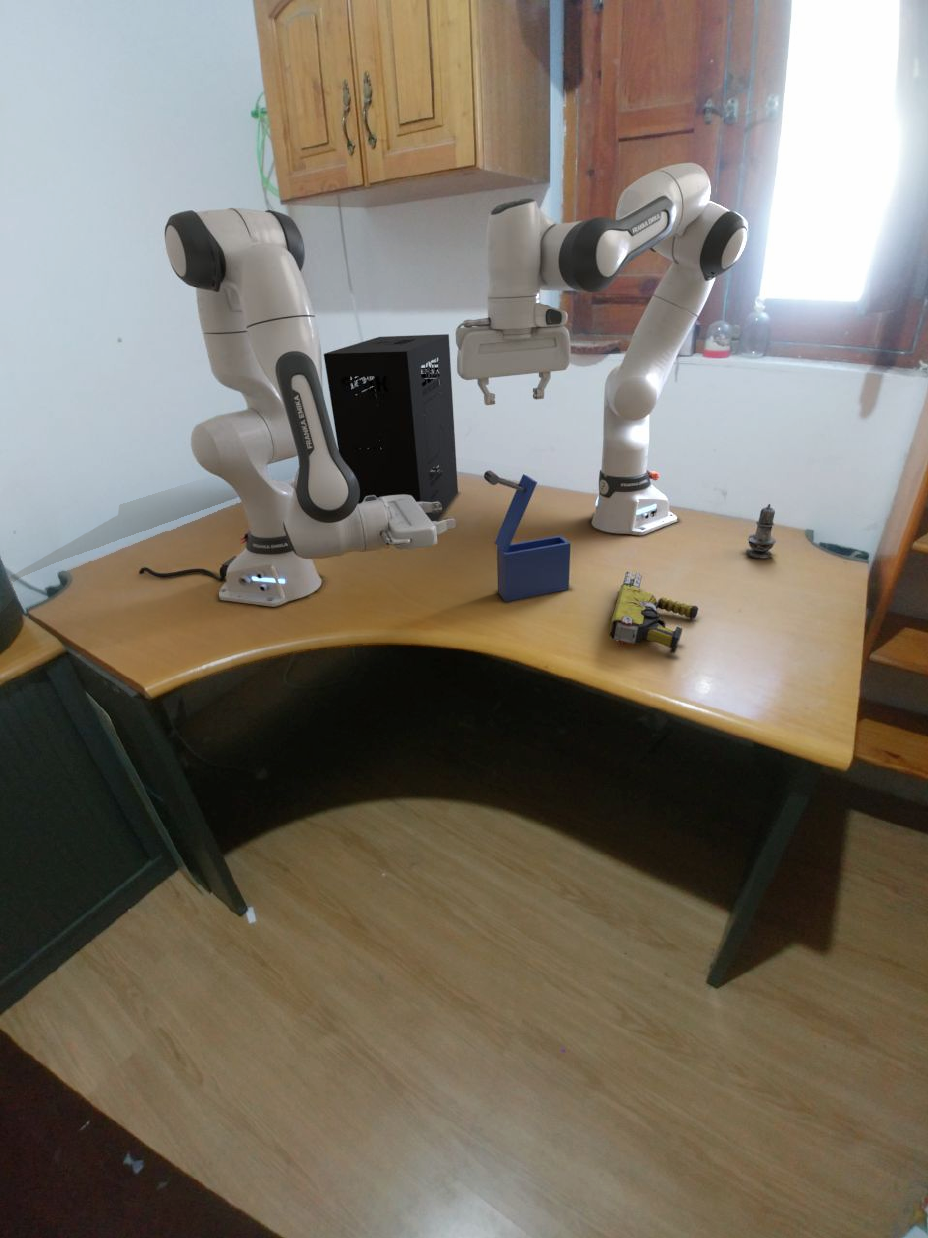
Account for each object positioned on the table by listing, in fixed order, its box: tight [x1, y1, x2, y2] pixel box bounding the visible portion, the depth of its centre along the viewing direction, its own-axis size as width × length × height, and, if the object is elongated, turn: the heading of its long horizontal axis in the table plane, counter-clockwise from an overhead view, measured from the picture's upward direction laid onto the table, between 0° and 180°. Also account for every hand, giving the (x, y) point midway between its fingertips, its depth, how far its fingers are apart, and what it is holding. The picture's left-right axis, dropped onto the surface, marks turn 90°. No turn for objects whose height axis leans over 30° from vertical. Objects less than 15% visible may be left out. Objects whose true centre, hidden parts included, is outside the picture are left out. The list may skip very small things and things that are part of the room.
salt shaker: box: [746, 503, 777, 559], centre depth 136 cm, size 6×6×12 cm
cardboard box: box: [323, 333, 459, 522], centre depth 164 cm, size 38×20×45 cm, turn 167°
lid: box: [483, 470, 538, 552], centre depth 117 cm, size 15×5×9 cm
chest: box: [496, 534, 571, 603], centre depth 126 cm, size 14×5×11 cm, turn 107°
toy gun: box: [608, 570, 699, 654], centre depth 115 cm, size 5×24×15 cm
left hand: (447, 514), depth 115 cm, fingers open, 8 cm apart
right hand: (514, 401), depth 109 cm, fingers open, 8 cm apart
